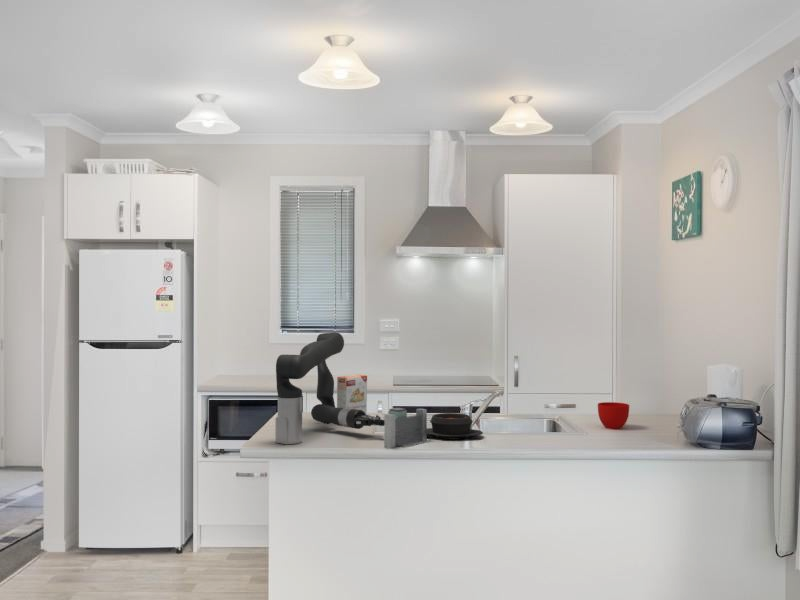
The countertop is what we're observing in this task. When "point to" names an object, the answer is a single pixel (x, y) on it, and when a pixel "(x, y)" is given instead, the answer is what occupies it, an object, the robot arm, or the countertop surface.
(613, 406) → the ceramic cup
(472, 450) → the countertop surface
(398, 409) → the block
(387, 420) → the grey wall block
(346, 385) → the cracker box
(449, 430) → the casserole
